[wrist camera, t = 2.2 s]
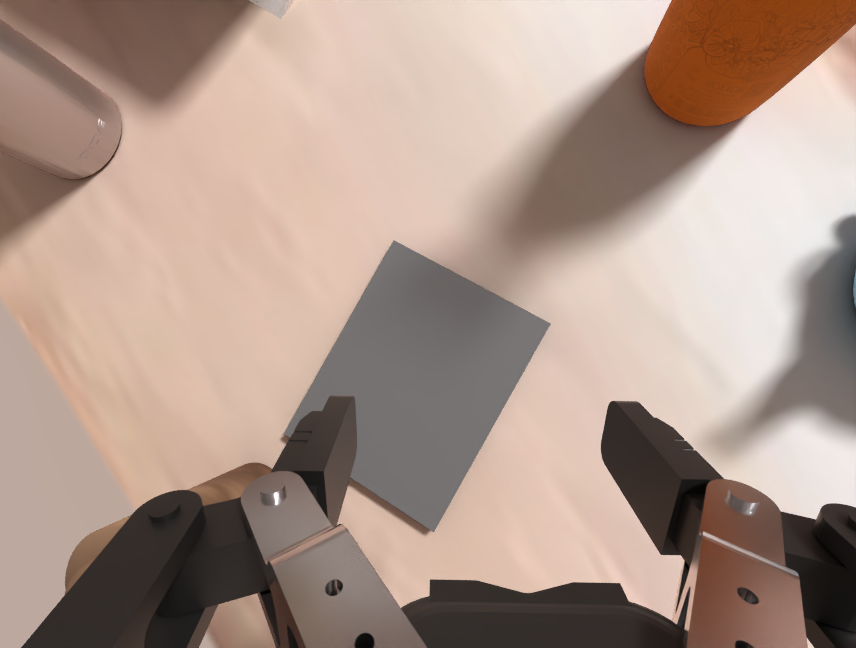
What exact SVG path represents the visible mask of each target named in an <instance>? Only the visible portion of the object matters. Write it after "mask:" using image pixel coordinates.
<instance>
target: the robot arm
mask: <svg viewBox="0 0 856 648" xmlns="http://www.w3.org/2000/svg"><path fill="white" fill-rule="evenodd" d="M121 126H122V124H121V117H120V113H119V110H118V108H117V106H116V104H115V103H114V101H113V100H112V99H111V98H110V97H109V96H108V95H107V94H106V93H104V92H103V91H101V90H100V89H99V88H97V87H96V86H94V85H93V84H91V83H90V82H89V81H87V80H86V79H84V78H83V77H82V76H80V75H79V74H77V73H76V72H74V71H73V70H72V69H70V68H69V67H67V66H66V65H65V64H63V63H62V62H61V61H59V60H58V59H56V58H55V57H54V56H52V55H51V54H49V53H48V52H46V51H45V50H44V49H42V48H41V47H39V46H38V45H37V44H35V43H34V42H32V41H31V40H29V39H28V38H27V37H25V36H24V35H22V34H21V33H19V32H18V31H17V30H15V29H14V28H12V27H11V26H10V25H8V24H7V23H5V22H4V21H2V20H1V19H0V151H1V152H3V153H5V154H8V155H10V156H12V157H14V158H17V159H19V160H21V161H24V162H26V163H28V164H31V165H33V166H35V167H37V168H40V169H42V170H44V171H47V172H49V173H51V174H54V175H56V176H58V177H62V178H65V179H80V178H85V177H87V176H90V175H92V174H94V173H95V172H97V171H98V170H100V169H101V168H102V167H103V166H104V165H105V164H106V163H107V162H108V161H109V160H110V158H111V157H112V156H113V154H114V152H115V150H116V148H117V146H118V144H119V140H120V136H121ZM356 451H357V425H356V406H355V398H354V396H334V395H331V396H329V398H328V400H327V402H326V404H325V406H324V408H323V410H322V411H311V412H310V413H309V414H307V415H306V416H305V417H303V418H302V419H301V420H300V421H299V423H298V425H297V426H296V428H295V430H294V433H292V435H291V437H290V439H289V442H287V444H286V446H285V448H284V449H283V451H282V453H281V455H280V457H279V458H278V460H277V462H276V464H275V465H274V467H273V469H272V471H271V473H268V474H265V475H263V476H260V477H259V478H257V479H255V480H254V481H252V482H251V483H250V484H249V485H248V486H247V487H246V488H245V489H244V491H243V493H242V496H241V497H239V498H236V499H232V500H228V501H223V502H219V503H214V504H209V505H205V506H203V503H202V499H201V497H200V496H199V494H197V493H196V492H193V491H189V490H177V491H172V492H168V493H165V494H162V495H159V496H157V497H155V498H153V499H151V500H149V501H148V502H146V503H145V504H143V505H142V506H140V507H139V508H138V509H137V510H136V511H135V512H134V513H133V514H132V515H131V516H130V518H129V519H128V520H127V521H126V522H125V524H124V525H123V526H122V527H121V528H120V530H119V531H118V532H117V533H116V534H115V536H114V537H113V538H112V539H111V540H110V542H109V543H108V544H107V545H106V546H105V548H104V549H103V550H102V551H101V552H100V554H99V555H98V556H97V557H96V558H95V560H94V561H93V562H92V563H91V564H90V566H89V567H88V568H87V569H86V570H85V572H84V573H83V574H82V575H81V577H80V578H79V579H78V580H77V581H76V583H75V584H74V585H73V586H72V587H71V589H70V590H69V591H68V592H67V593H66V595H65V596H64V597H63V598H62V599H61V601H60V602H59V603H58V604H57V606H56V607H55V608H54V609H53V610H52V611H51V613H50V614H49V615H48V616H47V618H46V619H45V620H44V621H43V622H42V623H41V625H40V626H39V627H38V628H37V630H36V631H35V632H34V633H33V634H32V635H31V637H30V638H29V639H28V640H27V641H26V643H25V644H24V645H23V646H22V647H21V648H199V646H200V644H201V641H202V639H203V637H204V635H205V632H206V630H207V628H208V626H209V624H210V621H211V619H212V617H213V615H214V612H215V610H216V608H217V606H218V604H221V603H224V602H228V601H231V600H235V599H238V598H242V597H245V596H249V595H252V594H255V593H257V594H258V597H259V600H260V603H261V606H262V609H263V611H264V614H265V617H266V620H267V623H268V626H269V628H270V631H271V634H272V637H273V640H274V643H275V646H276V648H808V647H807V638H808V640H809V641H810V642H811V644H812V645H813V646H814V647H815V648H856V508H855V507H852V506H848V505H843V504H826V505H824V506H823V507H822V508H821V510H820V512H819V515H818V517H817V519H816V520H815V519H811V518H806V517H802V516H798V515H793V514H789V513H785V512H780V510H779V508H778V506H777V505H776V504H775V503H774V502H773V501H772V500H771V499H770V498H769V497H767V496H766V495H765V494H763V493H762V492H760V491H758V490H756V489H755V488H752V487H750V486H748V485H746V484H743V483H740V482H737V481H732V480H727V479H724V478H723V477H722V476H721V475H720V474H719V473H718V472H717V471H716V470H715V469H714V468H713V467H712V466H711V465H710V464H709V463H708V462H707V461H706V460H705V459H704V458H703V457H702V456H701V455H700V454H699V453H698V452H697V451H694V450H693V447H692V446H691V445H690V444H689V443H688V442H687V441H684V438H683V437H682V436H681V435H680V434H679V433H678V432H677V431H676V430H675V429H674V428H673V427H671V426H669V425H668V424H666V423H664V422H663V421H661V420H659V419H658V418H654V417H653V416H652V415H651V414H650V413H649V412H648V411H647V410H646V409H645V408H644V407H643V406H642V405H641V404H640V403H639V402H636V401H612V402H610V404H609V406H608V409H607V415H606V420H605V425H604V431H603V436H602V441H601V454H602V459H603V461H604V464H605V466H606V467H607V469H608V470H609V472H610V474H611V475H612V477H613V478H614V480H615V482H616V483H617V485H618V486H619V488H620V490H621V491H622V493H623V495H624V496H625V498H626V499H627V501H628V503H629V504H630V506H631V507H632V509H633V511H634V512H635V514H636V515H637V517H638V519H639V520H640V522H641V524H642V525H643V527H644V528H645V530H646V532H647V533H648V535H649V536H650V538H651V540H652V541H653V543H654V544H655V546H656V548H657V549H658V551H659V553H660V554H661V555H681V556H682V557H683V559H684V563H683V567H682V570H681V575H680V580H679V585H678V590H677V596H676V601H675V606H674V612H673V617H672V621H671V620H669V619H668V618H666V617H664V616H662V615H661V614H659V613H657V612H655V611H653V610H650V609H648V608H646V607H643V606H641V605H638V604H635V603H632V602H629V601H628V599H627V597H626V595H625V593H624V591H623V589H622V587H621V584H620V583H577V582H573V583H569V584H565V585H561V586H557V587H553V588H550V589H546V590H542V591H538V592H534V593H522V592H518V591H514V590H511V589H507V588H503V587H499V586H495V585H492V584H488V583H484V582H480V581H474V580H430V596H429V597H425V598H421V599H418V600H416V601H413V602H411V603H409V604H407V605H405V606H403V607H402V608H400V607H399V605H398V604H397V602H396V601H395V599H394V598H393V596H392V595H391V593H390V592H389V590H388V589H387V587H386V586H385V584H384V583H383V581H382V580H381V578H380V577H379V575H378V574H377V572H376V571H375V569H374V568H373V566H372V565H371V563H370V562H369V560H368V559H367V558H366V556H365V555H364V553H363V552H362V550H361V549H360V547H359V546H358V544H357V543H356V541H355V540H354V538H353V537H352V535H351V534H350V532H349V531H348V529H347V528H346V527H345V526H344V525H343V524H339V525H337V522H338V518H339V515H340V511H341V508H342V504H343V501H344V497H345V494H346V490H347V486H348V483H349V479H350V476H351V472H352V469H353V465H354V461H355V458H356ZM806 637H807V638H806Z"/></svg>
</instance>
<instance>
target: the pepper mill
mask: <svg viewBox="0 0 856 648" xmlns="http://www.w3.org/2000/svg"><path fill="white" fill-rule="evenodd" d="M271 471H272V469H271V468H270V467H268V466H266V465H264V464H261V463H248V464H245V465H243V466H240V467H238V468H236V469H234V470H231V471H229V472H227V473H225V474H222V475H220V476H218V477H216V478H213V479H211V480H209V481H207V482H204V483H202V484H200V485H198V486H195V487H193V488H191V489H189V491H193V492H196V493H197V494H199V496H200V497H201V499H202V503H203V506H205V505H209V504H214V503H219V502H223V501H228V500H232V499H236V498H239V497H241V496H242V493H243V491H244V489H245V488H246V487H247V486H248V485H249V484H250V483H251V482H252V481H254V480H255V479H257V478H259V477H260V476H263V475H265V474H268V473H271ZM129 518H130V516H128V517H126V518H124V519H122V520H120V521H117V522H115V523H113V524H110V525H108V526H106V527H104V528H101V529H99V530H97V531H95V532H93V533H91V534H89V535H88V536H87V537H85V538H84V539H83V540H82V541H81V542H80V543H79V544H78V545H77V547H76V548H75V550H74V551H73V553H72V555H71V557H70V560H69V563H68V566H67V570H66V577H65V587H66V591H65V595H66V593H67V592H68V591H69V590H70V589H71V587H72V586H73V585H74V584H75V583H76V581H77V580H78V579H79V578H80V577H81V575H82V574H83V573H84V572H85V570H86V569H87V568H88V567H89V566H90V564H91V563H92V562H93V561H94V560H95V558H96V557H97V556H98V555H99V554H100V552H101V551H102V550H103V549H104V548H105V546H106V545H107V544H108V543H109V542H110V540H111V539H112V538H113V537H114V536H115V534H116V533H117V532H118V531H119V530H120V528H121V527H122V526H123V525H124V524H125V522H126V521H127V520H128V519H129Z"/></svg>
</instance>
